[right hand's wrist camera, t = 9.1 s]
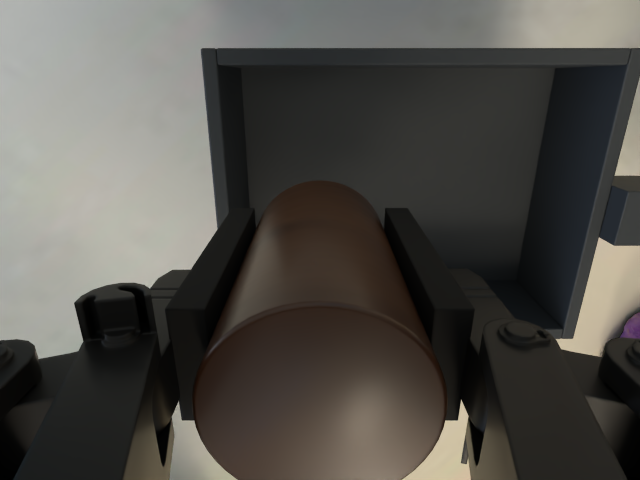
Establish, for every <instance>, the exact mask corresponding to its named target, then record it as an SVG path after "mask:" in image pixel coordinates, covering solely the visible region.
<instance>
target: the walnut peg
mask: <svg viewBox="0 0 640 480" xmlns="http://www.w3.org/2000/svg"><path fill="white" fill-rule="evenodd" d="M447 402H448V396H447V387H446V383H445V379H444V376H443V372H442V370H441V367H440V365H439V362H438V360H437V357H436V355H435V353H434V350H433V348H432V345H431V343H430V340H429V338H428V336H427V333H426V331H425V328H424V326H423V323H422V321H421V319H420V316H419V314H418V311H417V309H416V306H415V304H414V302H413V299H412V297H411V294H410V292H409V289H408V287H407V285H406V282H405V280H404V277H403V275H402V272H401V270H400V268H399V265H398V263H397V260H396V258H395V255H394V253H393V251H392V248H391V246H390V243H389V241H388V238H387V236H386V234H385V231H384V229H383V226H382V224H381V221H380V219H379V217H378V215H377V213H376V211H375V209H374V208H373V206H372V205H371V204H370V203H369V202H368V200H367V199H366V198H364V197H363V196H362V195H361V194H360V193H358V192H357V191H355V190H354V189H352V188H350V187H348V186H346V185H343V184H340V183H337V182H331V181H322V180H318V181H308V182H303V183H300V184H297V185H294V186H292V187H290V188H288V189H286V190H285V191H283V192H282V193H280V194H279V195H278V196H276V197H275V198H274V199H273V200H272V201H271V202H270V204H269V205H268V206H267V208H266V209H265V211H264V212H263V214H262V216H261V219H260V221H259V223H258V226H257V228H256V231H255V233H254V235H253V238H252V240H251V243H250V245H249V248H248V250H247V252H246V255H245V257H244V260H243V262H242V264H241V267H240V269H239V272H238V274H237V277H236V279H235V281H234V284H233V286H232V289H231V291H230V294H229V296H228V298H227V301H226V303H225V306H224V308H223V310H222V313H221V315H220V318H219V320H218V323H217V325H216V327H215V330H214V332H213V335H212V337H211V340H210V342H209V344H208V347H207V349H206V352H205V354H204V357H203V359H202V361H201V364H200V366H199V369H198V371H197V374H196V378H195V381H194V385H193V393H192V409H193V416H194V420H195V425H196V428H197V431H198V433H199V436H200V438H201V440H202V442H203V444H204V445H205V447H206V449H207V450H208V452H209V453H210V454H211V455H212V457H213V458H214V459H215V460H216V462H217V463H218V464H220V465H221V466H222V467H223V468H224V469H225V470H226V471H227V472H228V473H230V474H231V475H232V476H234V477H235V478H236V479H238V480H402V479H403V478H405V477H406V476H407V475H409V474H410V473H411V472H413V471H414V470H415V469H416V468H417V467H418V466H419V465H420V464H421V463H422V462H423V461H424V460H425V459H426V458H427V456H428V455H429V454H430V452H431V451H432V450H433V448H434V446H435V445H436V443H437V441H438V440H439V437H440V435H441V432H442V430H443V427H444V423H445V419H446V414H447Z"/></svg>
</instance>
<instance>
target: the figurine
mask: <svg viewBox="0 0 640 480" xmlns="http://www.w3.org/2000/svg"><path fill="white" fill-rule="evenodd" d="M622 337H625V338H639V339H640V312H639V313H637V314H635V315H633V316H632V317H631V318H630V319H628V321H627V323H626V324H625V326H624V331H623V333H622V334H621V336H620V338H622Z"/></svg>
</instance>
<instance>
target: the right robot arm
mask: <svg viewBox="0 0 640 480" xmlns="http://www.w3.org/2000/svg"><path fill="white" fill-rule="evenodd" d="M255 231H256V223H255V208H232V209H231V210H230V212H229V213H228V215H227V216H226V218H225V219H224V221H223V222H222V224H221V225H220V227H219V228H218V230H217V231H216V233H215V234H214V236H213V237H212V239H211V240H210V242H209V243H208V245H207V246H206V248H205V249H204V251H203V252H202V254H201V255H200V257H199V258H198V260H197V261H196V263H195V264H194V266H193V267H192V269H191V270H172V271H170V272H168V273H167V274H165V275H163V276H162V277H160V278H158V279H157V281H156V282H155V283H154V284H153V286H152V287H151V288H150V289H149V288H148V287H146V286H145V285H142V284H137V283H118V284H112V285H106V286H103V287H100V288H97V289H94V290H92V291H90V292H88V293H86V294H84V295H82V296H81V297H80V298H79V299H78V300H77V301H76V302H75V303H74V304H75V308H76V312H77V317H78V321H79V325H80V329H81V333H82V337H83V343H82V345H81V347H80V349H79V351H78V352H74V353H69V354H64V355H59V356H53V357H48V358H43V359H38V356H37V352H36V349H35V346H34V345H33V344H32V343H30V342H29V341H25V340H18V339H15V340H5V341H4V340H1V341H0V480H169V476H170V468H171V460H172V451H173V443H174V429H173V423H172V415H173V412H174V410H175V408H176V406H177V403H178V401H179V404H180V411H181V417H182V420H194V416H193V409H192V393H193V385H194V381H195V378H196V374H197V371H198V369H199V366H200V364H201V361H202V359H203V357H204V354H205V352H206V349H207V347H208V344H209V342H210V340H211V337H212V335H213V332H214V330H215V327H216V325H217V323H218V320H219V318H220V315H221V313H222V310H223V308H224V306H225V303H226V301H227V298H228V296H229V294H230V291H231V289H232V286H233V284H234V281H235V279H236V277H237V274H238V272H239V269H240V267H241V264H242V262H243V260H244V257H245V255H246V252H247V250H248V248H249V245H250V243H251V240H252V238H253V235H254V233H255ZM384 231H385V234H386V236H387V238H388V241H389V243H390V246H391V248H392V251H393V253H394V255H395V258H396V260H397V263H398V265H399V268H400V270H401V272H402V275H403V277H404V280H405V282H406V285H407V287H408V289H409V292H410V294H411V297H412V299H413V302H414V304H415V306H416V309H417V311H418V314H419V316H420V319H421V321H422V323H423V326H424V328H425V331H426V333H427V336H428V338H429V340H430V343H431V345H432V348H433V350H434V353H435V355H436V357H437V360H438V362H439V365H440V367H441V370H442V372H443V376H444V379H445V383H446V387H447V396H448V402H447V414H446V419H445V420H458V416H459V409H460V403H461V400H462V402H463V404H464V406H465V409H466V411H467V413H468V416H469V417H468V423H467V429H466V435H465V441H464V447H463V453H462V460H461V463H463V464H467V460H468V459H469V467H470V475H471V480H640V339H639V338H625V337H622V338H616V339H611V340H610V341H609V342H607V343H606V344H605V348H604V351H603V355H602V357H597V356H592V355H586V354H581V353H575V352H570V351H566V350H562V349H561V348H560V347H559V345H558V343H557V341H556V340H555V338H554V337H553V336H552V335H551V334H550V333H549V332H548V331H546V330H544V329H543V328H541V327H540V326H537V325H535V324H532V323H530V322H527V321H523V320H518V319H515V318H514V317H513V315H512V314H511V313H510V312H509V310H508V309H507V308H506V307H505V305H504V304H503V303H502V302H501V300H500V299H499V298H498V297H496V294H495V293H494V292H493V290H492V289H490V287H489V286H488V284H487V283H486V282H485V281H484V279H483V278H482V277H481V276H479V275H477V274H476V273H474V272H472V271H471V270H469V269H467V268H447V266H446V265H445V263H444V262H443V260H442V259H441V257H440V256H439V254H438V253H437V251H436V250H435V248H434V247H433V245H432V244H431V242H430V241H429V239H428V238H427V236H426V235H425V233H424V232H423V230H422V229H421V227H420V226H419V224H418V223H417V221H416V220H415V218H414V217H413V215H412V214H411V212H410V211H409V209H408V208H385V218H384Z"/></svg>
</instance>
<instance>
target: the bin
mask: <svg viewBox="0 0 640 480" xmlns="http://www.w3.org/2000/svg"><path fill="white" fill-rule="evenodd" d="M201 56H202V67H203V78H204V89H205V99H206V110H207V121H208V132H209V142H210V153H211V164H212V174H213V185H214V196H215V207H216V217H217V228H219V227H220V225H221V224H222V222H223V221H224V219H225V218H226V216H227V215H228V213H229V212H230V210H231V209H232V208H255V223H256V228H257V226H258V223H259V221H260V219H261V216H262V214H263V212H264V211H265V209H266V208H267V206H268V205H269V204H270V202H271V201H272V200H273V199H274V198H275V197H276V196H278V195H279V194H280V193H282V192H283V191H285V190H286V189H288V188H290V187H292V186H294V185H297V184H300V183H303V182H308V181H318V180H322V181H331V182H337V183H340V184H343V185H346V186H348V187H350V188H352V189H354V190H355V191H357V192H358V193H360V194H361V195H362V196H363V197H364V198H366V199H367V200H368V202H369V203H370V204H371V205H372V206H373V208H374V209H375V211H376V213H377V215H378V217H379V219H380V221H381V224H382V226H383V229H384V218H385V208H408V209H409V211H410V212H411V214H412V215H413V217H414V218H415V220H416V221H417V223H418V224H419V226H420V227H421V229H422V230H423V232H424V233H425V235H426V236H427V238H428V239H429V241H430V242H431V244H432V245H433V247H434V248H435V250H436V251H437V253H438V254H439V256H440V257H441V259H442V260H443V262H444V263H445V265H446V266H447V268H467V269H469V270H471V271H472V272H474V273H476V274H477V275H479V276H481V277H482V278H483V279H484V281H485V282H486V283H487V284H488V286H489V287H490V289H492V290H493V292H494V293H495V294H496V297H498V298H499V299H500V300H501V302H502V303H503V304H504V305H505V307H506V308H507V309H508V310H509V312H510V313H511V314H512V315H513V317H514V318H515V319H518V320H523V321H527V322H530V323H532V324H535V325H537V326H540V327H541V328H543V329H544V330H546V331H548V332H549V333H550V334H551V335H552V336H553V337H554V338H555V339H561V338H562V339H572V338H573V336H574V332H575V328H576V324H577V320H578V317H579V313H580V309H581V305H582V301H583V297H584V293H585V289H586V285H587V281H588V277H589V273H590V269H591V265H592V262H593V258H594V254H595V250H596V246H597V242H598V238H599V237H600V238H602V239H603V240H605V241H607V242H609V243H610V244H612V245H614V246H640V176H614V175H615V171H616V167H617V163H618V159H619V155H620V151H621V147H622V144H623V140H624V136H625V132H626V128H627V124H628V120H629V116H630V112H631V108H632V104H633V100H634V96H635V92H636V88H637V85H638V81H639V77H640V48H630V49H629V48H218V49H215V48H202V49H201Z"/></svg>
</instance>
